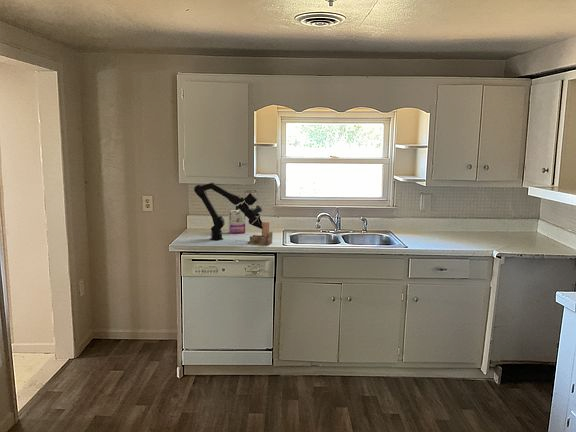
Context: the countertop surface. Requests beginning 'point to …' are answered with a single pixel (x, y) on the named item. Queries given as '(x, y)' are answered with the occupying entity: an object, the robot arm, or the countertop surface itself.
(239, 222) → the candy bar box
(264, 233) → the clay strip
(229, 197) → the robot arm
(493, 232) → the countertop surface
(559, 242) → the countertop surface
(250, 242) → the drying rack
